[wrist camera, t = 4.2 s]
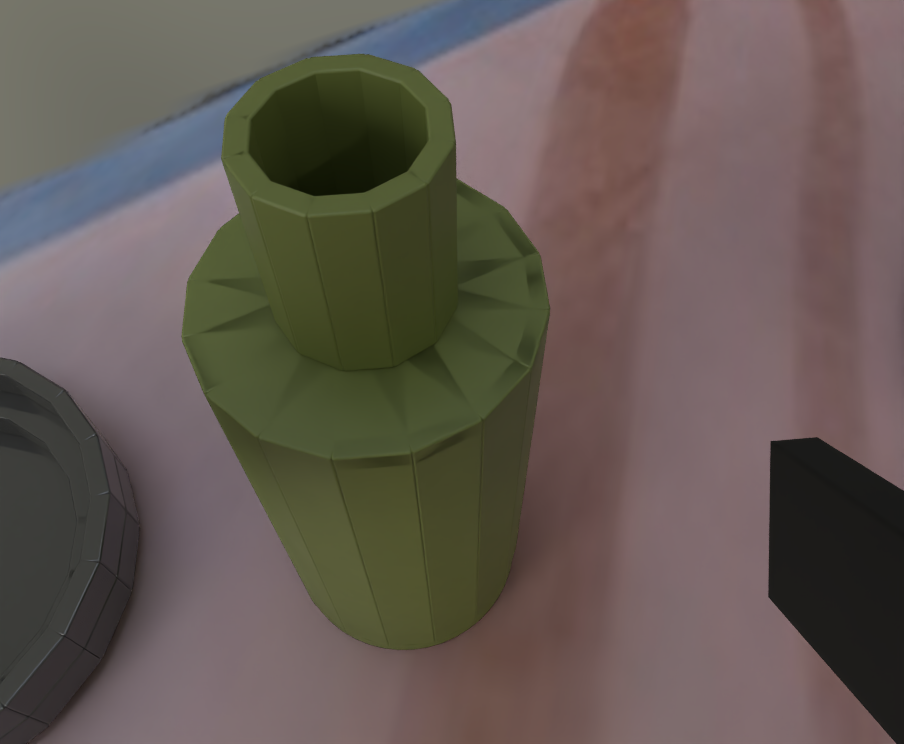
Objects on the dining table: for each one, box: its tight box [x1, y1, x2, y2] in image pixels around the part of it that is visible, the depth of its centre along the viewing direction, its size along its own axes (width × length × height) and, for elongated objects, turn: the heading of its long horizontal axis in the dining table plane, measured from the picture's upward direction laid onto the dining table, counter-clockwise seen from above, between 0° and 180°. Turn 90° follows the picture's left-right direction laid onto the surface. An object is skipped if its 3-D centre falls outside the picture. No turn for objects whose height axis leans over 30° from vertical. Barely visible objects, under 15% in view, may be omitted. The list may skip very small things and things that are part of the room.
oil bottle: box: [181, 54, 550, 650], centre depth 19 cm, size 7×7×17 cm
